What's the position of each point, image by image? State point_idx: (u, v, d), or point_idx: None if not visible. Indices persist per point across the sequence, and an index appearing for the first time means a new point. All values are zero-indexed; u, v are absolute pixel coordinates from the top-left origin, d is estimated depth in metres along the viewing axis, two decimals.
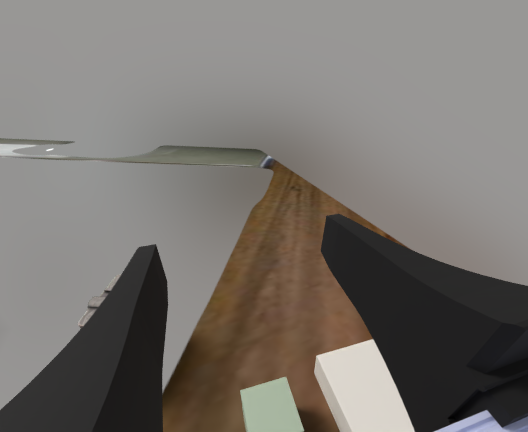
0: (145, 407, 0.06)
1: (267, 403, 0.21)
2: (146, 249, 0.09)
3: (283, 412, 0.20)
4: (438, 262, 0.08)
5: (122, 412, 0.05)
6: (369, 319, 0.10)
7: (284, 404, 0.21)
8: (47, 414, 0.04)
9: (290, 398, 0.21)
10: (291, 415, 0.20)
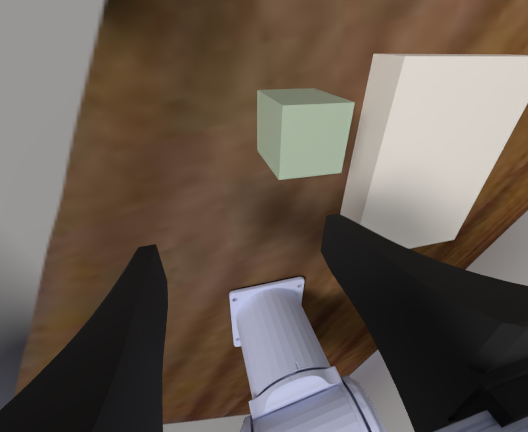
0: (145, 407, 0.06)
1: (314, 134, 0.14)
2: (146, 249, 0.09)
3: (329, 149, 0.15)
4: (438, 262, 0.08)
5: (122, 412, 0.05)
6: (369, 319, 0.10)
7: (334, 141, 0.15)
8: (46, 414, 0.04)
9: (345, 135, 0.15)
10: (336, 155, 0.15)
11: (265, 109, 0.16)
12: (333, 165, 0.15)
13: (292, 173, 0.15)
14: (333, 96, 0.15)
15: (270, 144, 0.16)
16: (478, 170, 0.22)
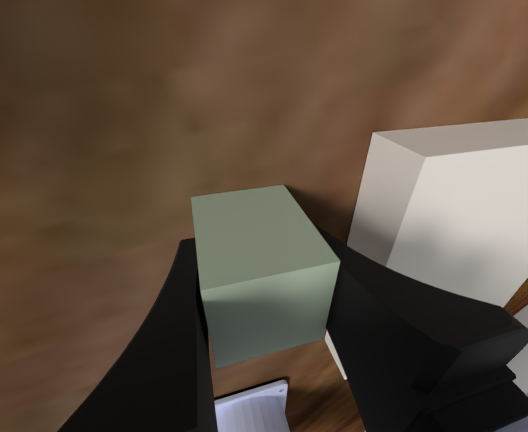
0: (208, 388, 0.07)
1: (270, 310, 0.08)
2: (190, 242, 0.10)
3: (299, 321, 0.09)
4: None
5: (203, 388, 0.05)
6: (332, 329, 0.09)
7: (307, 311, 0.09)
8: (146, 386, 0.05)
9: (325, 301, 0.09)
10: (312, 324, 0.09)
11: None
12: (309, 334, 0.09)
13: (238, 357, 0.09)
14: (306, 226, 0.09)
15: None
16: (520, 268, 0.16)
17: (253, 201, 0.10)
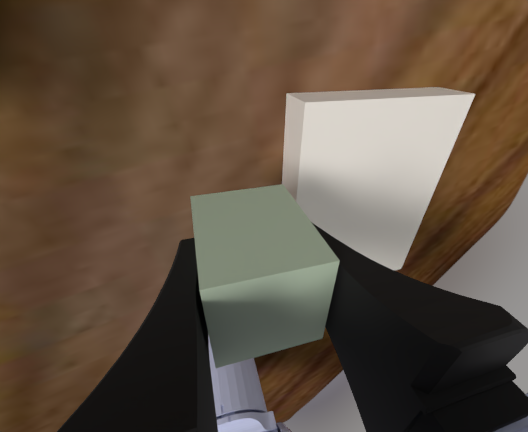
0: (208, 388, 0.07)
1: (270, 310, 0.08)
2: (190, 242, 0.10)
3: (299, 321, 0.09)
4: (396, 272, 0.08)
5: (203, 388, 0.05)
6: (331, 329, 0.09)
7: (306, 310, 0.09)
8: (146, 386, 0.05)
9: (325, 300, 0.08)
10: (311, 324, 0.09)
11: None
12: (308, 334, 0.09)
13: (238, 357, 0.09)
14: (306, 225, 0.09)
15: None
16: (414, 204, 0.21)
17: (252, 201, 0.10)
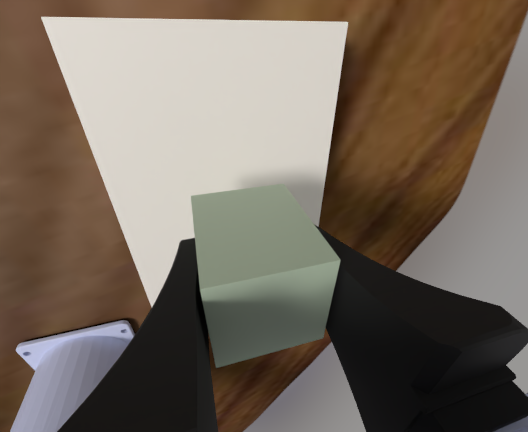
0: (208, 388, 0.07)
1: (270, 309, 0.08)
2: (190, 242, 0.10)
3: (299, 320, 0.09)
4: (396, 272, 0.08)
5: (203, 388, 0.05)
6: (331, 329, 0.09)
7: (307, 309, 0.08)
8: (146, 386, 0.05)
9: (326, 300, 0.08)
10: (312, 323, 0.09)
11: None
12: (309, 334, 0.09)
13: (238, 356, 0.09)
14: (306, 225, 0.09)
15: None
16: (301, 188, 0.16)
17: (253, 200, 0.10)
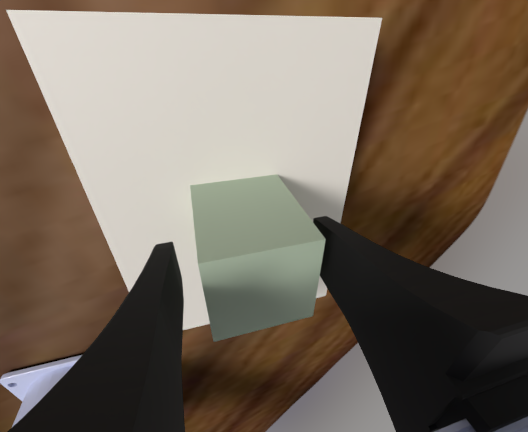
0: (171, 399, 0.06)
1: (263, 285, 0.09)
2: (163, 246, 0.09)
3: (289, 297, 0.09)
4: (422, 266, 0.08)
5: (155, 402, 0.05)
6: (355, 323, 0.10)
7: (296, 287, 0.09)
8: (87, 403, 0.04)
9: (314, 278, 0.09)
10: (302, 301, 0.10)
11: None
12: (299, 311, 0.10)
13: (234, 331, 0.10)
14: (296, 210, 0.10)
15: None
16: (319, 207, 0.14)
17: (248, 189, 0.11)
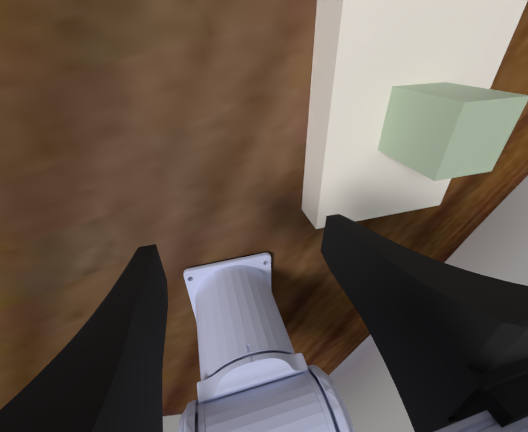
0: (145, 407, 0.06)
1: (482, 131, 0.13)
2: (146, 249, 0.09)
3: (489, 147, 0.14)
4: (438, 262, 0.08)
5: (122, 412, 0.05)
6: (369, 319, 0.10)
7: (497, 138, 0.14)
8: (46, 414, 0.04)
9: (509, 131, 0.14)
10: (493, 153, 0.14)
11: (411, 106, 0.15)
12: (487, 163, 0.15)
13: (448, 173, 0.14)
14: (489, 90, 0.14)
15: (418, 143, 0.15)
16: None
17: (438, 86, 0.16)
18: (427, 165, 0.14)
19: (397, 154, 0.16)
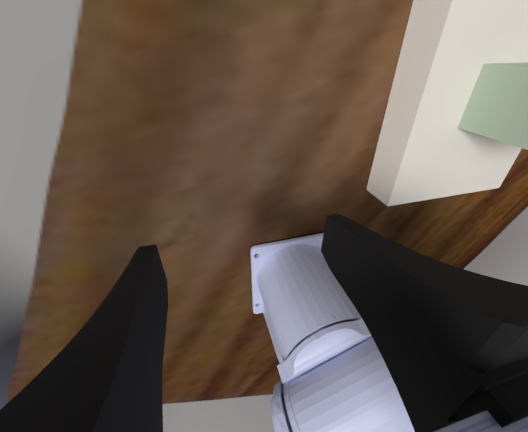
0: (145, 407, 0.06)
1: None
2: (146, 250, 0.09)
3: None
4: (438, 261, 0.08)
5: (122, 412, 0.05)
6: (369, 319, 0.10)
7: None
8: (46, 414, 0.04)
9: None
10: None
11: (508, 81, 0.15)
12: None
13: None
14: None
15: (514, 116, 0.15)
16: None
17: None
18: (525, 137, 0.15)
19: (484, 129, 0.17)
